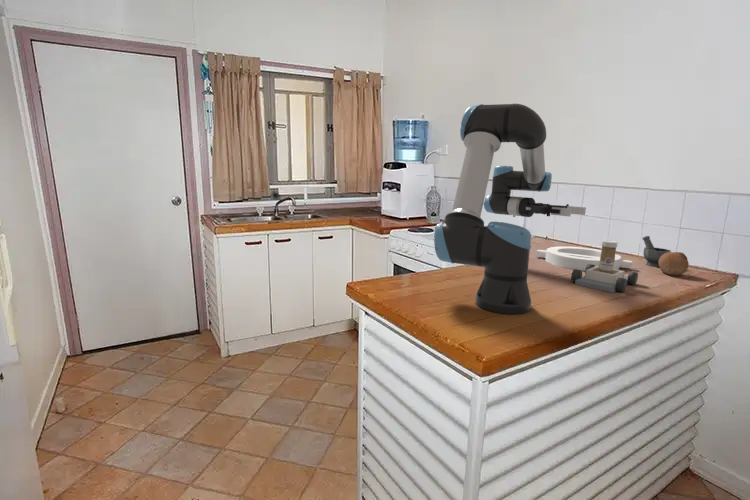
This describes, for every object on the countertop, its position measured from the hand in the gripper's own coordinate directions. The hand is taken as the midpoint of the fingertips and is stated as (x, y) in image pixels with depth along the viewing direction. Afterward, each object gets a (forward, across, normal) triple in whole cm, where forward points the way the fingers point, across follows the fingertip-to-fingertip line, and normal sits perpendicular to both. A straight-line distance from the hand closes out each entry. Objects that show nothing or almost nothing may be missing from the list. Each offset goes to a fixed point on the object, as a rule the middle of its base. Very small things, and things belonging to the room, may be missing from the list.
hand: (578, 211), depth 148 cm
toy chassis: (+11, -1, -24) cm, 26 cm away
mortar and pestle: (+15, -49, -23) cm, 57 cm away
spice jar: (+11, -2, -23) cm, 25 cm away
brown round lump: (+24, -36, -24) cm, 50 cm away
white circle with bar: (-6, -28, -24) cm, 37 cm away
